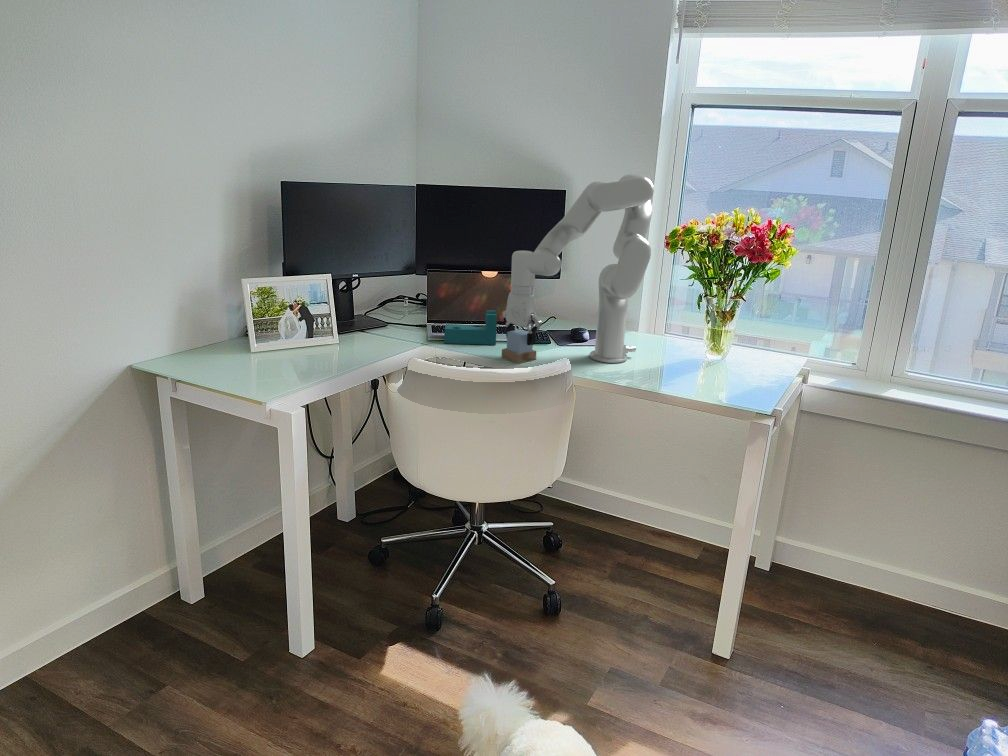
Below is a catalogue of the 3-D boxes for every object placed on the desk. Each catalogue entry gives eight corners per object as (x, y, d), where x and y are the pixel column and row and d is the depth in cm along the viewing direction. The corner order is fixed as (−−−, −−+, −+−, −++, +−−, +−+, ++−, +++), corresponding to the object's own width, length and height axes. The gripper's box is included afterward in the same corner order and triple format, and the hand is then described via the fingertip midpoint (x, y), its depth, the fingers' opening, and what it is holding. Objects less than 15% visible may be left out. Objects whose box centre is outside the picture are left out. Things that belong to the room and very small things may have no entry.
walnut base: (519, 353, 247) (519, 345, 246) (535, 359, 242) (536, 350, 241) (501, 357, 242) (502, 349, 241) (518, 363, 236) (518, 354, 236)
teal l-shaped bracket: (495, 339, 266) (496, 310, 264) (495, 344, 256) (496, 315, 253) (445, 337, 265) (446, 309, 263) (444, 343, 255) (444, 313, 253)
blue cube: (519, 346, 245) (520, 329, 243) (532, 350, 241) (533, 333, 239) (506, 349, 241) (507, 331, 239) (519, 353, 237) (520, 335, 235)
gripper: (495, 286, 238) (494, 337, 244) (533, 296, 226) (530, 349, 232) (512, 284, 243) (510, 334, 248) (550, 293, 231) (547, 345, 236)
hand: (520, 341), depth 240 cm, fingers open, 9 cm apart
